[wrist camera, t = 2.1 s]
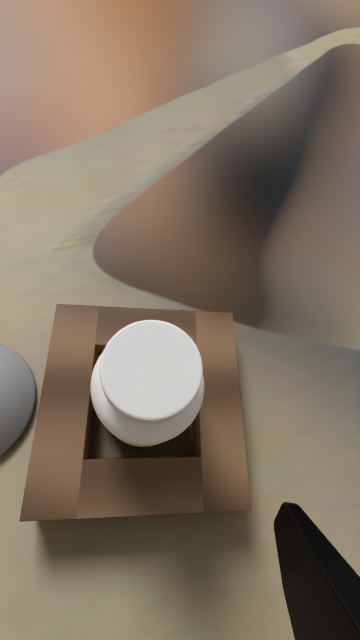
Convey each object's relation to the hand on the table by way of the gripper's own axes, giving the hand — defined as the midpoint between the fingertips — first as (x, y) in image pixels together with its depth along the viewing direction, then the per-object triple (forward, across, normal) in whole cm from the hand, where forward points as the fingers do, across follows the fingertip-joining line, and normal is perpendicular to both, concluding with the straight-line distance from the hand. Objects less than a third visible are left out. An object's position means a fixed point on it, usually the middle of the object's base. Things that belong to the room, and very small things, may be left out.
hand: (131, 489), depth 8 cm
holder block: (+10, 0, +5) cm, 12 cm away
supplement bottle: (+11, 0, +5) cm, 12 cm away
